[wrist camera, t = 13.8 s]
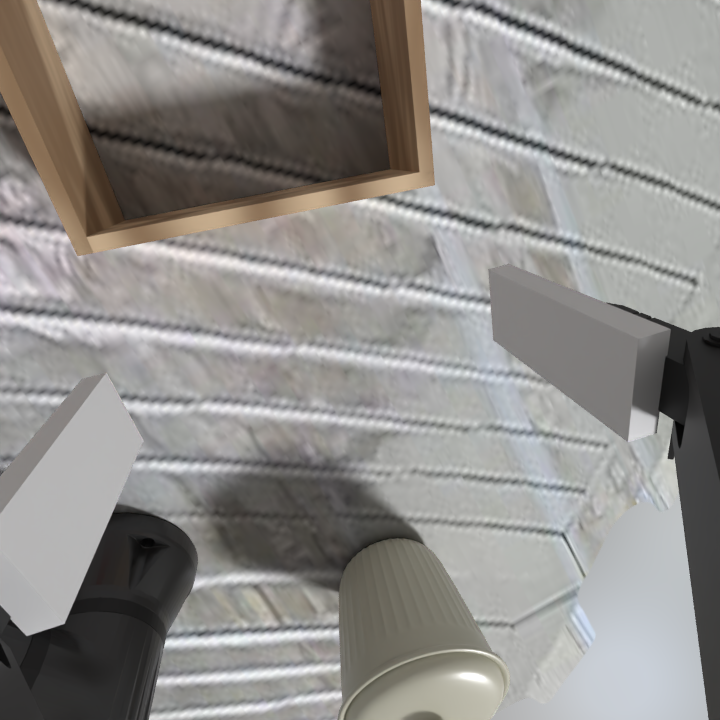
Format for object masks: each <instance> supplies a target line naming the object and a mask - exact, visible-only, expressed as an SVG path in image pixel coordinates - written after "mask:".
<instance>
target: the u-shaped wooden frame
mask: <svg viewBox="0 0 720 720" xmlns="http://www.w3.org/2000/svg"><path fill="white" fill-rule="evenodd" d="M370 5H371V13H372V22H373V30H374V38H375V47H376V55H377V63H378V72H379V80H380V88H381V97H382V105H383V113H384V122H385V130H386V138H387V147H388V155H389V163H390V169H389V170H384V171H378V172H373V173H368V174H363V175H358V176H353V177H347V178H342V179H337V180H332V181H327V182H321V183H316V184H311V185H306V186H301V187H296V188H290V189H285V190H280V191H275V192H270V193H264V194H259V195H254V196H249V197H244V198H239V199H233V200H228V201H223V202H218V203H213V204H207V205H202V206H197V207H192V208H187V209H182V210H176V211H171V212H166V213H161V214H156V215H150V216H145V217H140V218H135V219H130V220H125V219H124V217H123V214H122V212H121V209H120V207H119V204H118V202H117V199H116V197H115V194H114V192H113V189H112V187H111V184H110V182H109V179H108V177H107V174H106V172H105V169H104V167H103V164H102V162H101V160H100V157H99V155H98V152H97V150H96V147H95V145H94V142H93V140H92V137H91V135H90V132H89V130H88V127H87V125H86V122H85V120H84V117H83V115H82V112H81V110H80V107H79V105H78V102H77V100H76V97H75V95H74V92H73V90H72V88H71V85H70V83H69V80H68V78H67V75H66V73H65V70H64V68H63V65H62V63H61V60H60V58H59V55H58V53H57V50H56V48H55V45H54V43H53V40H52V38H51V35H50V33H49V30H48V28H47V25H46V23H45V20H44V18H43V16H42V13H41V11H40V8H39V6H38V3H37V1H36V0H0V92H1V94H2V96H3V98H4V100H5V103H6V105H7V107H8V109H9V111H10V113H11V115H12V118H13V120H14V122H15V124H16V126H17V128H18V130H19V132H20V135H21V137H22V139H23V141H24V143H25V145H26V147H27V149H28V152H29V154H30V156H31V158H32V160H33V162H34V164H35V166H36V169H37V171H38V173H39V175H40V177H41V179H42V181H43V184H44V186H45V188H46V190H47V192H48V194H49V196H50V198H51V201H52V203H53V205H54V207H55V209H56V211H57V213H58V215H59V218H60V220H61V222H62V224H63V226H64V228H65V230H66V232H67V235H68V237H69V239H70V241H71V243H72V245H73V247H74V250H75V252H76V254H77V256H81V255H86V254H91V253H96V252H101V251H106V250H111V249H116V248H121V247H126V246H131V245H136V244H141V243H146V242H151V241H156V240H161V239H166V238H171V237H176V236H181V235H186V234H191V233H196V232H201V231H206V230H211V229H216V228H221V227H226V226H231V225H237V224H242V223H247V222H252V221H257V220H262V219H267V218H272V217H277V216H282V215H287V214H292V213H297V212H302V211H307V210H312V209H317V208H322V207H327V206H332V205H337V204H342V203H347V202H352V201H357V200H362V199H367V198H372V197H377V196H382V195H387V194H392V193H398V192H403V191H408V190H413V189H418V188H423V187H428V186H433V185H435V180H434V167H433V154H432V141H431V129H430V116H429V103H428V90H427V77H426V64H425V51H424V38H423V25H422V12H421V0H370Z"/></svg>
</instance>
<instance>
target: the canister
mask: <svg viewBox="0 0 720 720" xmlns="http://www.w3.org/2000/svg"><path fill="white" fill-rule="evenodd" d="M339 635H340V659H341V686H342V705H341V707H340V710H339V714H338V720H490V719H491V718H492V717H493V716H494V714H495V713H496V711H497V709H498V707H499V705H500V704H501V702H502V701H503V699H504V698H505V696H506V694H507V692H508V689H509V685H510V673H509V670H508V667H507V665H506V664H505V662H504V661H503V660H502V659H501V658H500V657H499V656H498V655H497V654H495V653H494V652H492V650H491V648H490V647H489V645H488V643H487V641H486V639H485V637H484V636H483V634H482V632H481V630H480V629H479V627H478V625H477V623H476V622H475V620H474V618H473V616H472V615H471V613H470V611H469V609H468V607H467V606H466V604H465V602H464V600H463V599H462V597H461V595H460V593H459V592H458V590H457V588H456V586H455V585H454V583H453V581H452V580H451V578H450V577H449V575H448V573H447V572H446V570H445V568H444V567H443V565H442V563H441V562H440V560H439V559H438V558H437V557H436V555H435V554H434V553H433V552H432V551H431V550H430V549H428V548H427V547H426V546H425V545H423V544H421V543H419V542H417V541H413V540H411V539H405V538H402V539H399V538H396V539H391V538H390V539H388V540H382V541H380V542H376V543H374V544H372V545H369V546H368V547H367V548H364V549H363V550H362V551H361V552H358V553H357V554H356V556H355V557H353V558H352V559H351V561H350V562H349V563H348V564H347V567H346V568H345V570H344V572H343V575H342V578H341V581H340V589H339Z"/></svg>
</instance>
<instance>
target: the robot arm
mask: <svg viewBox="0 0 720 720" xmlns="http://www.w3.org/2000/svg"><path fill="white" fill-rule="evenodd" d="M489 284H490V298H491V313H492V327H493V340H494V341H495V342H497V343H498V344H499V345H501V346H502V347H503V348H505V349H506V350H507V351H508V352H510V353H511V354H512V355H514V356H515V357H516V358H518V359H519V360H520V361H522V362H523V363H524V364H526V365H527V366H528V367H530V368H531V369H532V370H534V371H535V372H536V373H537V374H539V375H540V376H541V377H543V378H544V379H545V380H547V381H548V382H549V383H551V384H552V385H553V386H555V387H556V388H557V389H559V390H560V391H561V392H563V393H564V394H565V395H566V396H568V397H569V398H570V399H572V400H573V401H574V402H576V403H577V404H578V405H580V406H581V407H582V408H584V409H585V410H586V411H588V412H589V413H590V414H591V415H593V416H594V417H595V418H597V419H598V420H599V421H601V422H602V423H603V424H605V425H606V426H607V427H609V428H610V429H611V430H613V431H614V432H615V433H617V434H618V435H619V436H620V437H622V438H623V439H624V440H626V441H627V442H630V441H633V440H636V439H639V438H642V437H646V436H649V435H652V434H655V433H657V426H658V419H659V412H662V413H664V414H665V415H667V416H668V417H670V418H672V419H673V420H674V421H673V428H672V434H671V440H670V446H669V453H668V459H674V456H675V464H676V471H677V479H678V487H679V494H680V501H681V510H682V517H683V525H684V532H685V541H686V548H687V555H688V563H689V571H690V579H691V587H692V594H693V602H694V610H695V617H696V625H697V632H698V641H699V647H700V656H701V664H702V672H703V679H704V686H705V694H706V702H707V710H708V718H709V720H720V327H712V328H703V329H699V330H695V331H693V332H689V331H687V330H684V329H682V328H679V327H677V326H674V325H671V324H669V323H666V322H664V321H661V320H659V319H656V318H651V316H648V315H646V314H643V313H639V312H638V311H636V310H633V309H630V308H628V307H625V306H623V305H617V304H611V303H605V302H602V301H600V300H597V299H595V298H592V297H590V296H587V295H585V294H582V293H580V292H577V291H575V290H572V289H570V288H567V287H565V286H562V285H560V284H557V283H555V282H552V281H550V280H547V279H545V278H542V277H540V276H537V275H535V274H532V273H530V272H528V271H525V270H523V269H520V268H518V267H515V266H513V265H510V264H507V265H503V266H499V267H496V268H492V269H489ZM143 441H144V440H143V438H142V437H141V435H140V433H139V431H138V429H137V428H136V426H135V424H134V422H133V420H132V418H131V417H130V415H129V413H128V411H127V409H126V407H125V406H124V404H123V402H122V400H121V398H120V396H119V395H118V393H117V391H116V389H115V387H114V385H113V384H112V382H111V380H110V378H109V376H108V374H107V373H103V374H99V375H96V376H92V377H88V378H85V379H82V380H81V381H80V382H79V383H78V385H77V386H76V387H75V388H74V389H73V390H72V392H71V393H70V394H69V395H68V396H67V398H66V399H65V400H64V401H63V402H62V404H61V405H60V406H59V407H58V408H57V409H56V411H55V412H54V413H53V414H52V415H51V417H50V418H49V419H48V420H47V421H46V423H45V424H44V425H43V426H42V427H41V428H40V430H39V431H38V432H37V433H36V434H35V436H34V437H33V438H32V439H31V440H30V441H29V443H28V444H27V445H26V446H25V447H24V449H23V450H22V451H21V452H20V453H19V455H18V456H17V457H16V458H15V459H14V460H13V462H12V463H11V464H10V465H9V466H8V468H7V469H6V470H5V471H4V472H3V474H2V475H1V476H0V720H149V716H150V711H151V706H152V702H153V697H154V692H155V687H156V682H157V677H158V673H159V668H160V663H161V658H162V653H163V649H164V644H165V639H166V635H167V632H168V631H169V629H170V627H171V625H172V623H173V622H174V620H175V618H176V616H177V614H178V613H179V611H180V609H181V607H182V605H183V603H184V601H185V599H186V598H187V597H188V595H189V593H190V592H191V590H192V587H193V584H194V581H195V576H196V570H197V564H198V557H197V552H196V549H195V547H194V545H193V543H192V541H191V540H190V539H189V537H188V536H187V535H186V534H185V533H184V532H182V531H181V530H180V529H178V528H177V527H175V526H174V525H172V524H170V523H168V522H166V521H163V520H161V519H158V518H155V517H151V516H146V515H140V514H112V513H113V510H114V508H115V506H116V503H117V501H118V499H119V496H120V494H121V492H122V489H123V487H124V485H125V483H126V480H127V478H128V476H129V473H130V471H131V469H132V466H133V464H134V462H135V459H136V457H137V455H138V452H139V450H140V448H141V445H142V443H143Z"/></svg>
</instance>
